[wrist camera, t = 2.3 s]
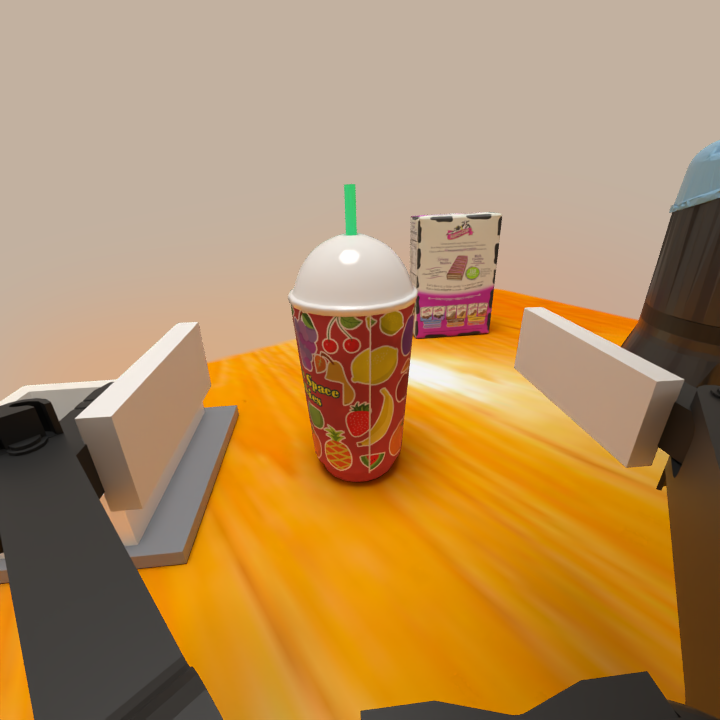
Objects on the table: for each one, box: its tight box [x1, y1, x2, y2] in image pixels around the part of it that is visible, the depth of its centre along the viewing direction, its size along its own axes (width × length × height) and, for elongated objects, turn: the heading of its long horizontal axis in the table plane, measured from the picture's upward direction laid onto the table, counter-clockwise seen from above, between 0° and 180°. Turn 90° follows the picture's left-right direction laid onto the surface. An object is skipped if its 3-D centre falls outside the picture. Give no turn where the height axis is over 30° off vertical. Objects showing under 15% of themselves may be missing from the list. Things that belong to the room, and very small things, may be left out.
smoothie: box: [288, 184, 418, 482], centre depth 26 cm, size 8×8×20 cm
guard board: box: [0, 380, 239, 583], centre depth 27 cm, size 20×16×5 cm
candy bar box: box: [410, 212, 502, 338], centre depth 52 cm, size 11×5×16 cm, turn 97°
